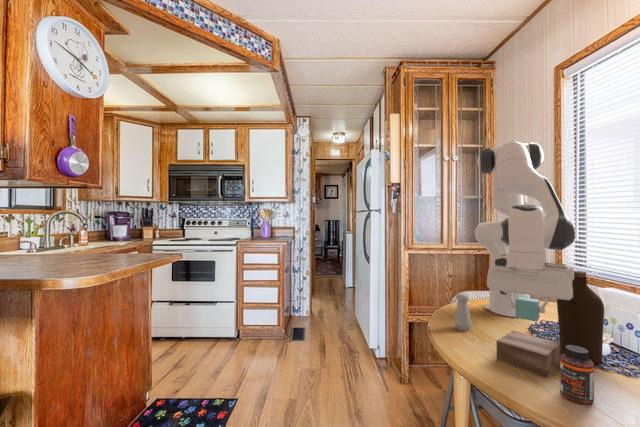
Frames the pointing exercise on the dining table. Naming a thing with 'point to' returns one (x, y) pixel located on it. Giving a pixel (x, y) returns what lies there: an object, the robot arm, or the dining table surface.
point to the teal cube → (527, 309)
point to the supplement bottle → (577, 375)
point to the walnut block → (529, 353)
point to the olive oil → (582, 319)
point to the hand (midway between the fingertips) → (527, 310)
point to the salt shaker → (462, 313)
